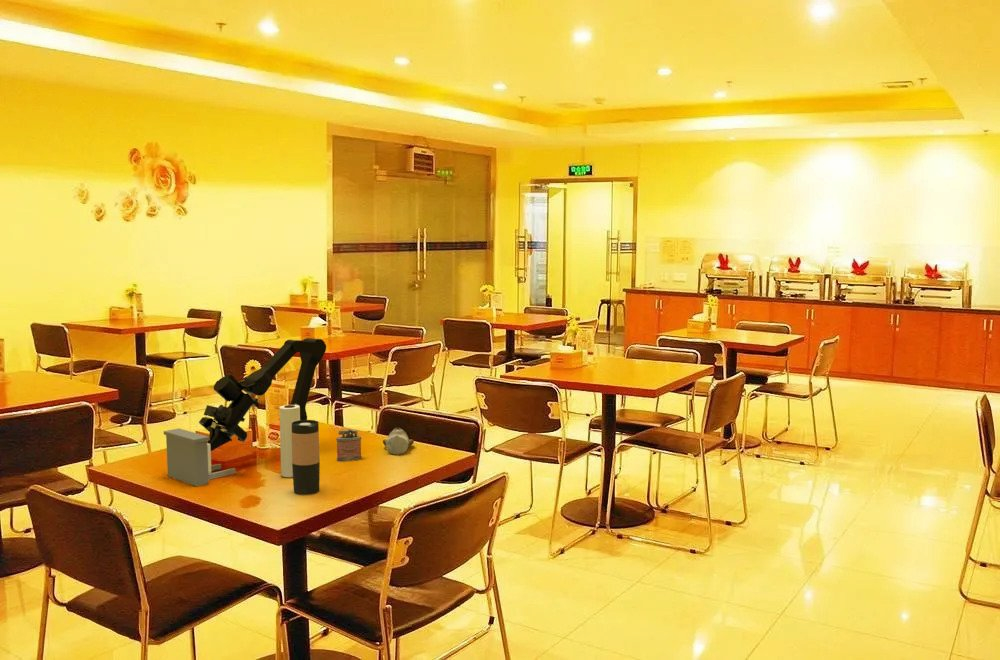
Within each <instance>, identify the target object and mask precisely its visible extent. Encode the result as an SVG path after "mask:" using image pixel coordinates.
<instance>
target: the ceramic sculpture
mask: <svg viewBox="0 0 1000 660" xmlns="http://www.w3.org/2000/svg"><path fill="white" fill-rule="evenodd" d="M414 442H415V440H414V439H412V438H411V439H409V436H408V434H407V432H406V431H405V430H403V428H400V426H396V427H395V428H394V429H393V430H391V431H390V432H389V434H388V436H387V438H386V439H383V440H382V444H383V445H384V446H385V447H386V449H387V451H388V452H389V453H390V454H391V455H395V454H396V455H395V456H399V455H403V454H405V453H406V451H407V450H408V449H409V447H412V446H413V444H414ZM398 454H399V455H398Z"/></svg>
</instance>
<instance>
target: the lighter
mask: <svg viewBox="0 0 1000 660" xmlns="http://www.w3.org/2000/svg"><path fill="white" fill-rule="evenodd" d="M337 432H338V433H337V434H338V437H337V436H336V438H335V439H336V440H335V441H336V462H350V461H349V460H355V461H360V460H359V459H361V460H362V435H358V434H359V433H358V429H352V428H348V429H347V430H346V429H343V430H342V429H341V430H338V431H337Z"/></svg>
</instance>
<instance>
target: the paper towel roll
mask: <svg viewBox="0 0 1000 660" xmlns="http://www.w3.org/2000/svg"><path fill="white" fill-rule="evenodd" d="M278 409H279V419H280V420H279V440H280V442H279V443H280V447H279V448H280V473H281V474H280V475H281V477H284V478H293V469H292V422H295V421H299V420H300V406H299V405H296V404H295V405H290V404H285V405H282V406H281V405H280V406H279V408H278Z"/></svg>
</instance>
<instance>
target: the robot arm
mask: <svg viewBox="0 0 1000 660" xmlns="http://www.w3.org/2000/svg"><path fill="white" fill-rule="evenodd" d="M326 351H327V344H326V342H325V341H324V340H323V339H321V338H315V337H314V338H313V337H306V338H304V339H302V340H301V339H300V340H299V339H287V340H285V341H284V343H283V345H282V346H281V347H279V349H278V350H277V351H276V352H275V353H274V354H273V355H272V356H271V357H270V358H269V360H267V362H266V363H265V364H264V365H262V367H260V368H259V369H257V370H255V371H253V372H251V373H250V374H249V375H247V376H246V377H245V378H244V379H243V380H239V381H238V380H237V379H236V378H235V376H234V375H233V374H232V373H231V374H230V373H227V374H226V375H225V376H222V377H221V378H220V379H218V380H217V381H216V382H215V383H214V385H213V390H214V391H215V392H216V393H217V394H218V395H219V396H220V397H221V398H222V399H224V401H226V402H230V404H229V405H227V406H224V405H219V406H218V407H216V406H213V405H209V404H208V405H206V407H205V410H204V412H203V416H204V417H201V419H200V420H199V421H198V424H199V425H201V426H202V427H203V428H204V429H205V430H206V431H208V432H209V436H208V437H210V440H208V441H207V443H208V444H210V446H211V452H212V451H214V450H216V449H218V448H219V447H221V446H223V445H225V444H227V443H229V442H232V441H233V436H235V437H236V438H237V441H238V442H242V443H244V442H245V441H246V440H247V438H248V432H247V431H246V430H245V429H244V428H243V427H241V426H240V425H239V424H240V422H242V423H243V422H245V420H246V418H244V417H245V416H246V415H247V413H248V411H249V410H250V409H251V407H254V408H260V404H259V398H257V397H254V396H264V395H265V394H266V393H267V391H268V390H269V388H270V387H271V386H272V383H273V379H274V377H276V375H277V374H278V373H279V372H280V371H281V370H282V369H283V368H284V367H285V365H287V363H288V362H289V361H290V360H291V359H292V358H293V357H294V356H295V355H296V354H297V353H299V357H300V363H301V364H300V367H299V370H298V371H299V372H298V374H297V375H298V376H297V378H296V383H295V386H294V387H295V388H294V390H293V394H292V397H291V401H290V404H289V405H295V404H296V405H299V406H300V420H308V414H307V409H306V406H307V403H308V399H309V395H310V391H311V386H312V383H313V379H314V376H315V373H316V368H317V366H318V365H319V364H320V362H321V361H322V360H323V358H324V356H325V354H326ZM252 395H254V396H252ZM278 420H279V421H280V418H279V419H278Z"/></svg>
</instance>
